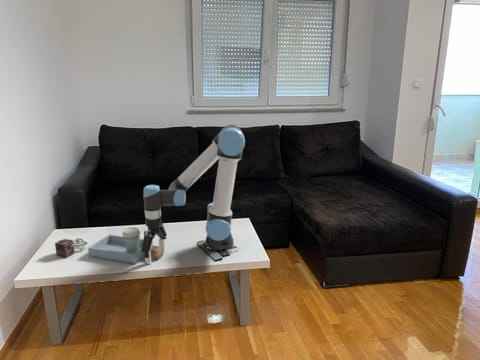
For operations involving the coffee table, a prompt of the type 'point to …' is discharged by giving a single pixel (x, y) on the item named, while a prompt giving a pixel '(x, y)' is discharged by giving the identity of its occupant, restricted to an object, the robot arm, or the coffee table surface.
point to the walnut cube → (156, 252)
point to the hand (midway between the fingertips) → (155, 257)
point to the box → (64, 248)
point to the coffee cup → (131, 239)
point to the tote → (115, 250)
